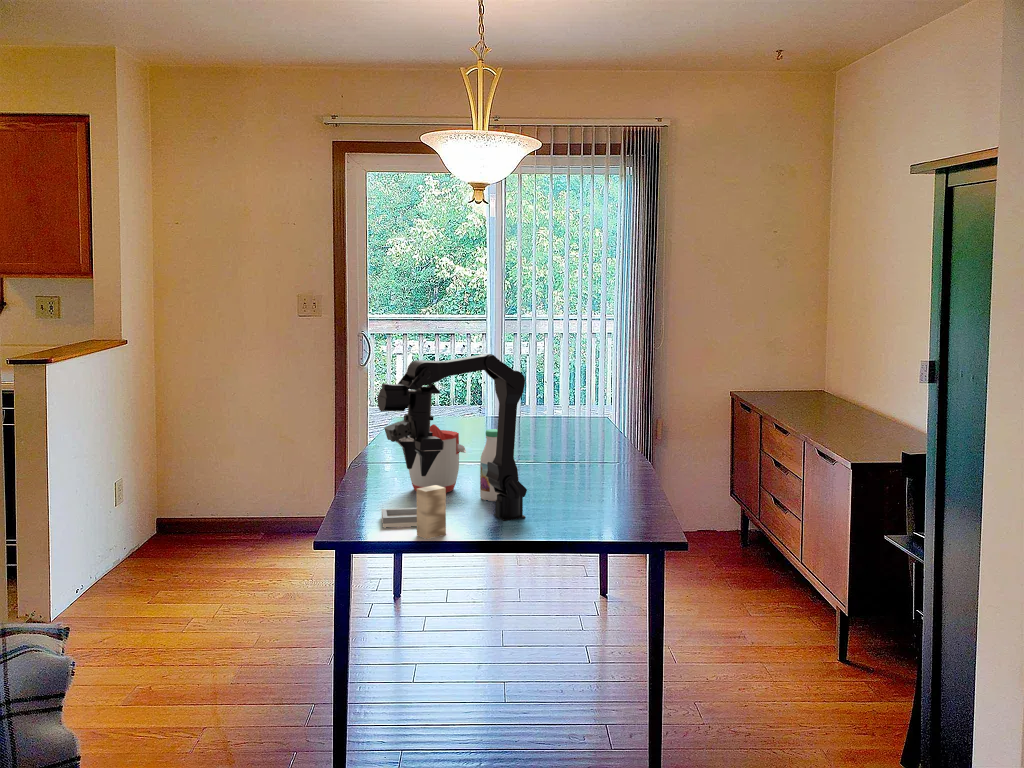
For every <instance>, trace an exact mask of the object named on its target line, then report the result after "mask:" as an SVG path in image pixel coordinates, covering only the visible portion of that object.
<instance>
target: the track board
mask: <svg viewBox="0 0 1024 768" xmlns="http://www.w3.org/2000/svg"><path fill="white" fill-rule="evenodd" d="M381 522H382V523H383V524H382V528H383V527H384V528H383V529H387V528H386V527H397V528H412V527H411V526H417V507H404V508H401V507H400V508H396V507H395V508H381Z"/></svg>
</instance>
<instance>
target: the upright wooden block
mask: <svg viewBox="0 0 1024 768" xmlns="http://www.w3.org/2000/svg"><path fill="white" fill-rule="evenodd" d="M446 494H447V493H446V488H444V487H441V486H438V485H433V486H428V487H422V488H417V492H416V508H417V527H416V536H417V535H418V536H417V537H419V536H420V538H422V537H423V538H422V539H424V538H425V540H429V539H432V538H433V539H434V538H438V537H442V536H443V537H444V536H446V535H447V513H446V512H447V509H446V508H447V505H446V503H447V499H446V497H447V495H446Z"/></svg>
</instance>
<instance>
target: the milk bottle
mask: <svg viewBox="0 0 1024 768" xmlns="http://www.w3.org/2000/svg"><path fill="white" fill-rule="evenodd" d="M497 430H498V428H497V429H496V428H492V429H491V428H490V429H486V430H485V438H486V442H485V445H484V448H483V450H482V452H481V455H480V467H479V477H480V481H479V485H480V488H479V492H480V493H479V496H480V499H481V500H483V501H486V500H488V502H495V501H496V500H497V494H499V493H497V492H495V490H494V487H493V486H492V485H491V484H490V483H489V481H488V477H486V475H487V471H488V467H487V463H488V462H493V460H494V458H495V456H496V445H497Z"/></svg>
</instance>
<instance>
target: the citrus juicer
mask: <svg viewBox="0 0 1024 768" xmlns="http://www.w3.org/2000/svg"><path fill="white" fill-rule="evenodd" d="M430 432H432V433H433V436H435V437H438V438H440V439H441V440H442V441H443V442H444V447H443V450H441V452H440V453H439V454H438V455H437V457H436V458H435V460H434V462H433V463H432V465H431V467H430V469H429V471H428V473H427V475H426V476H421V469H420V456H419V454H418V453H417V454H416V458H415V461H414V464H413V466H412V469H408V472H409V473H408V474H409V478H410V481H411V485H412V488H413V489H414V491H415V492H416V493H417V488H422V487H428V486H433V485H438V486H441V487H444V488H446V494H447V493H450V492H452V491H453V490H454V489H455V486H456V484H457V480H458V476H459V471H460V469H459V468H460V453H467V451H466V447H465V446H464V445H463V444H460V436H459V435H460V434H459V432H458V431H452V430H444V429H440V428H439V427H438V426H437V425H436V424H433V423H432V424H430Z"/></svg>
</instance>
